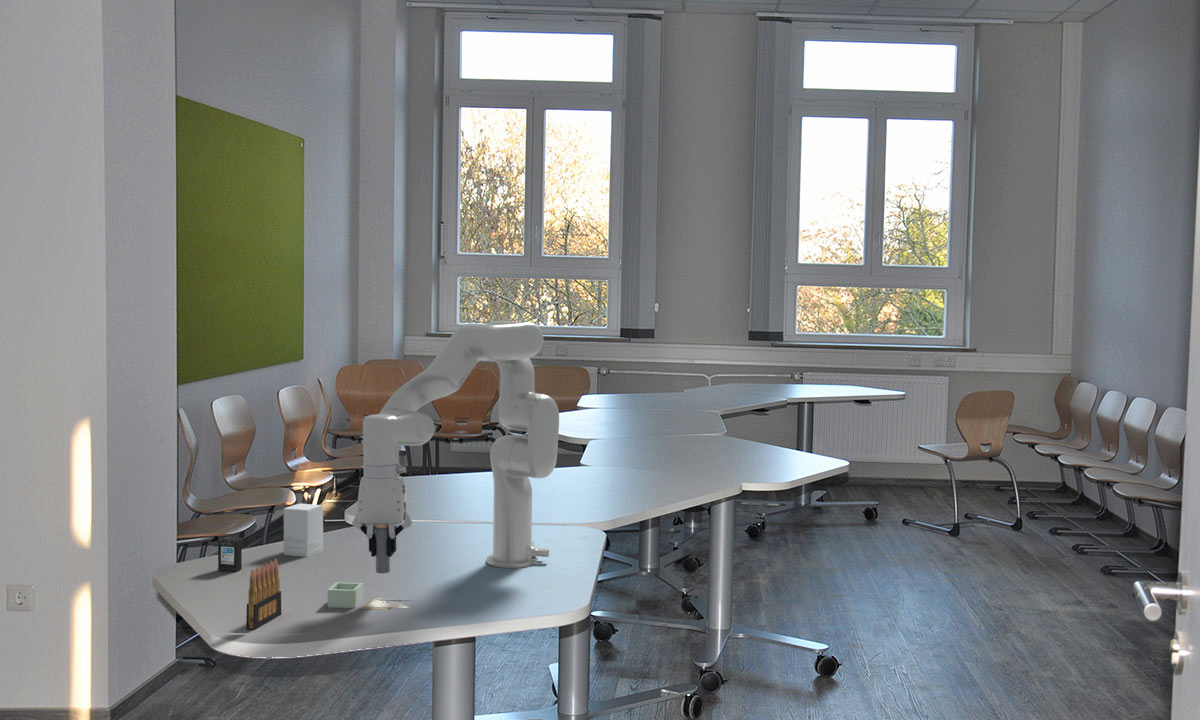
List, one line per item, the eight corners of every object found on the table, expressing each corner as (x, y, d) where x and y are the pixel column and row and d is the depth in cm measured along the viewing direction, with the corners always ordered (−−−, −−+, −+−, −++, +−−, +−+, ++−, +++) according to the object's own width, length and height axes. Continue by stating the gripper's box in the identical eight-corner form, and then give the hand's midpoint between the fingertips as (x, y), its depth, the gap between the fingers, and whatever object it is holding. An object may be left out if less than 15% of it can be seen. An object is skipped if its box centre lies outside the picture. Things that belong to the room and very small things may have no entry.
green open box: (363, 601, 224) (363, 583, 224) (355, 609, 218) (355, 590, 218) (335, 600, 224) (335, 582, 224) (327, 608, 218) (327, 589, 218)
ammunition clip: (273, 613, 214) (273, 557, 213) (281, 614, 213) (281, 557, 213) (245, 629, 203) (245, 569, 203) (254, 630, 203) (254, 570, 202)
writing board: (442, 596, 228) (442, 593, 228) (431, 612, 216) (431, 609, 216) (375, 594, 229) (375, 591, 229) (361, 610, 217) (361, 607, 217)
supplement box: (324, 553, 266) (324, 504, 265) (307, 559, 259) (307, 510, 258) (300, 550, 268) (300, 502, 268) (282, 556, 261) (282, 507, 261)
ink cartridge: (217, 571, 246) (217, 538, 246) (222, 568, 249) (222, 536, 248) (236, 572, 245) (236, 539, 245) (241, 570, 248) (241, 537, 247)
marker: (391, 569, 224) (391, 515, 223) (388, 573, 221) (387, 518, 220) (377, 569, 224) (376, 515, 224) (373, 573, 221) (372, 518, 220)
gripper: (422, 468, 225) (423, 551, 226) (348, 468, 225) (350, 550, 227) (415, 475, 217) (416, 560, 219) (339, 474, 218) (340, 559, 219)
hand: (382, 554), depth 223 cm, fingers closed on marker, 3 cm apart
